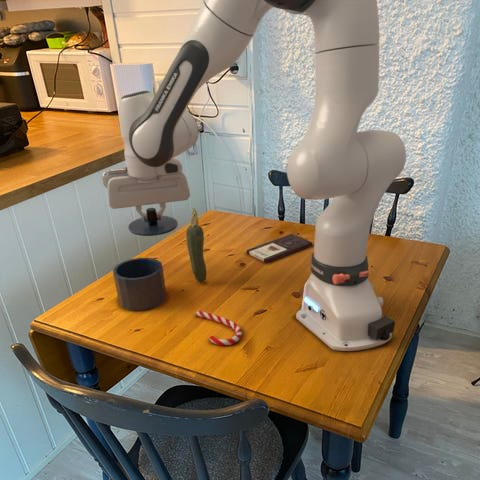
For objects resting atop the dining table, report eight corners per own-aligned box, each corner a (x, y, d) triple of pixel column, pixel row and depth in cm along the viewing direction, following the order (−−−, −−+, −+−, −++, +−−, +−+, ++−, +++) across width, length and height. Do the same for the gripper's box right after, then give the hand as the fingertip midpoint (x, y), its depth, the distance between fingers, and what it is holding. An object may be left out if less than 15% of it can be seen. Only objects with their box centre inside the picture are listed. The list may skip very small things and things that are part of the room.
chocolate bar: (312, 242, 140) (266, 260, 130) (312, 245, 140) (266, 263, 131) (291, 233, 146) (246, 250, 136) (291, 236, 146) (246, 253, 137)
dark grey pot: (169, 306, 113) (165, 274, 109) (120, 314, 111) (114, 282, 106) (162, 284, 123) (158, 254, 118) (117, 291, 120) (111, 261, 116)
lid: (181, 234, 118) (179, 214, 115) (131, 241, 115) (127, 221, 112) (173, 217, 128) (171, 198, 125) (127, 223, 126) (124, 204, 123)
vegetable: (203, 288, 120) (197, 213, 109) (188, 286, 121) (180, 212, 110) (210, 281, 123) (204, 207, 113) (195, 279, 125) (188, 206, 114)
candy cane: (208, 305, 110) (250, 331, 101) (208, 309, 111) (250, 336, 101) (180, 317, 106) (222, 345, 96) (181, 322, 107) (222, 350, 97)
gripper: (101, 173, 108) (112, 230, 116) (188, 164, 112) (193, 219, 120) (100, 166, 113) (110, 221, 121) (183, 158, 118) (188, 211, 125)
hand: (152, 220), depth 120 cm, fingers closed on lid, 2 cm apart
